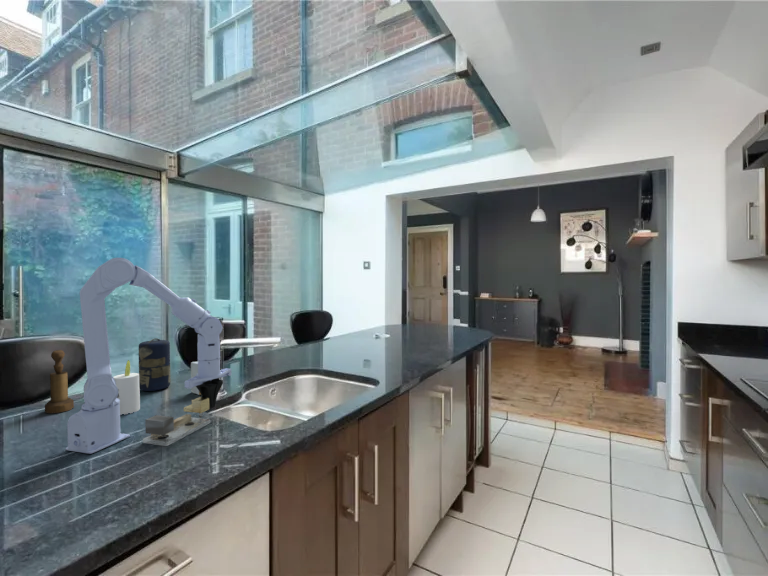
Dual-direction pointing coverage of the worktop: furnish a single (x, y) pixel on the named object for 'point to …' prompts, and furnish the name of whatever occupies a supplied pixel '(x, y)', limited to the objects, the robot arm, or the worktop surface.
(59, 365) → the brown tall knobbed cylinder
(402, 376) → the worktop surface
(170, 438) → the bolt plate
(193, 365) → the small box
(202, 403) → the sliding leg
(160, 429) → the grey blocky hammer
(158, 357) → the canister
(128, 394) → the candle
